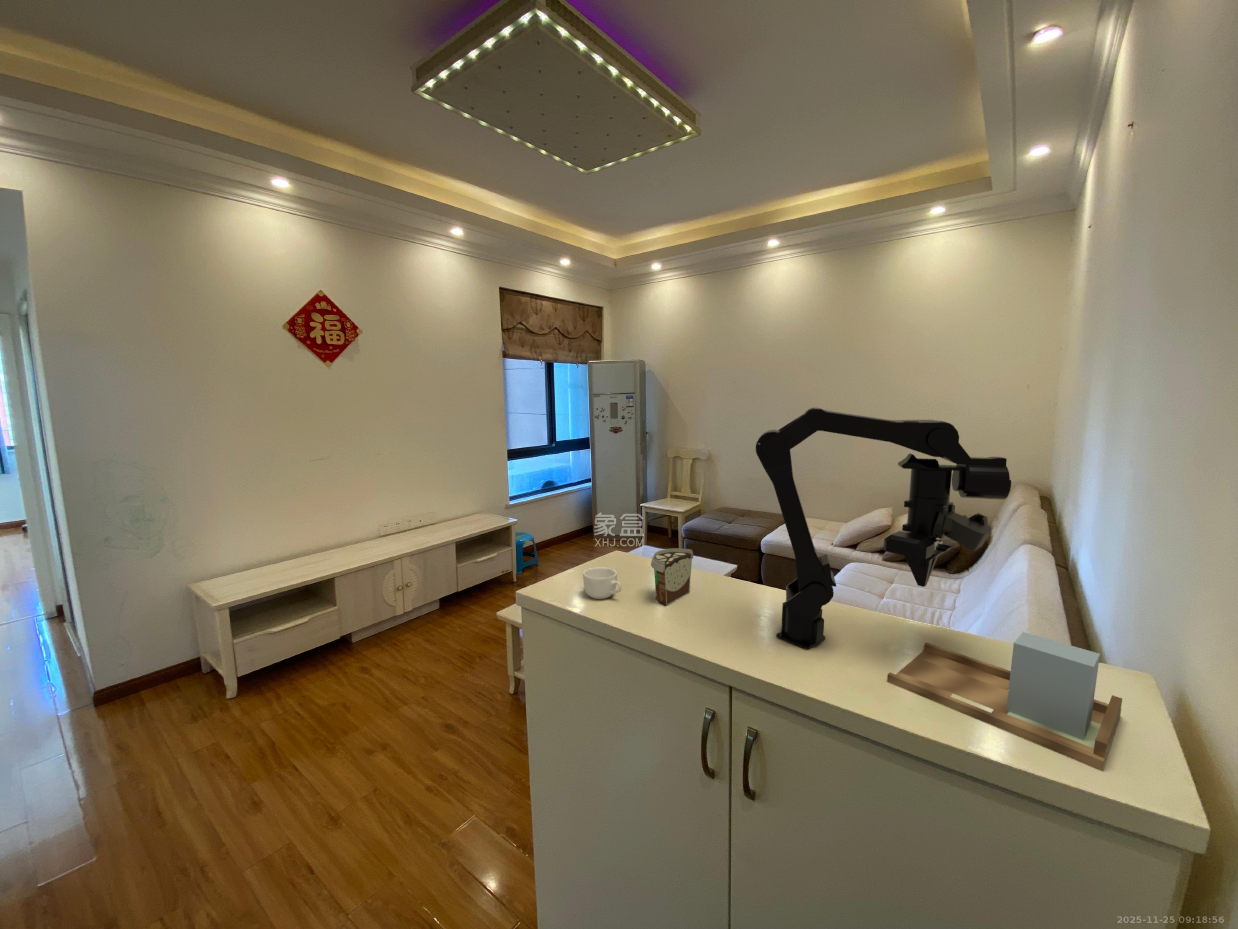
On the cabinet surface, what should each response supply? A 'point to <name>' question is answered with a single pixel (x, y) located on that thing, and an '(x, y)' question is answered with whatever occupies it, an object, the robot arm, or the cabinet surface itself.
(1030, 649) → the slate block
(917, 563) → the robot arm
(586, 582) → the teacup
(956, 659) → the tray
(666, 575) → the food container
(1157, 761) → the cabinet surface
